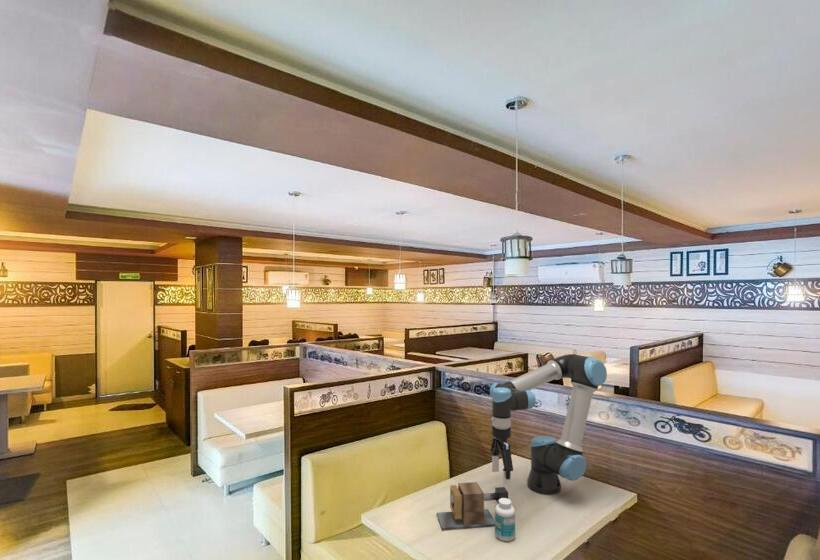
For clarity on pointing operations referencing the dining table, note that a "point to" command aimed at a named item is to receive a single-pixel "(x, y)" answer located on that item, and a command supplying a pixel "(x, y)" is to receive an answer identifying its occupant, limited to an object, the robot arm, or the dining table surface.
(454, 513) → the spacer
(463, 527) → the bearing block
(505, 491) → the shaft
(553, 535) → the dining table surface
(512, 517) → the pill bottle
